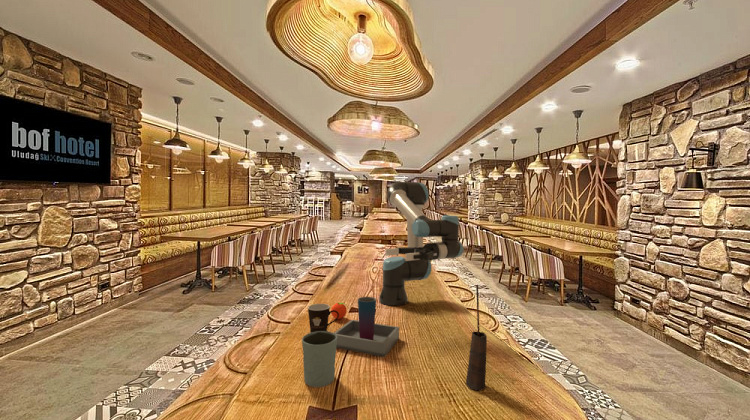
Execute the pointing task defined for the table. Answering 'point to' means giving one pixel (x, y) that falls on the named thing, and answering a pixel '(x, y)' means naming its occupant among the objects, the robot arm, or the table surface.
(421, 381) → the table surface
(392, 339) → the tray
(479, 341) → the butter churn
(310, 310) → the coffee mug
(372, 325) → the cup
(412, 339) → the table surface
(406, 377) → the table surface
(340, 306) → the clementine
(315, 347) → the grey ceramic tumbler
